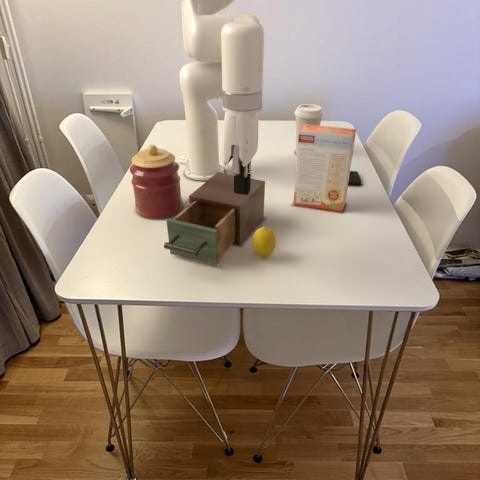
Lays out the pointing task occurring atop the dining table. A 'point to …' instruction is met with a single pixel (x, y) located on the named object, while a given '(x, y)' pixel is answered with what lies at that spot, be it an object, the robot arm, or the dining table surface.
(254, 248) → the lemon
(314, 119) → the coffee cup
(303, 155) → the cracker box
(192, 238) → the drawer
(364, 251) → the dining table surface
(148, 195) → the kitchen canister
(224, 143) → the robot arm
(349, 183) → the cell phone
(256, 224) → the cabinet
